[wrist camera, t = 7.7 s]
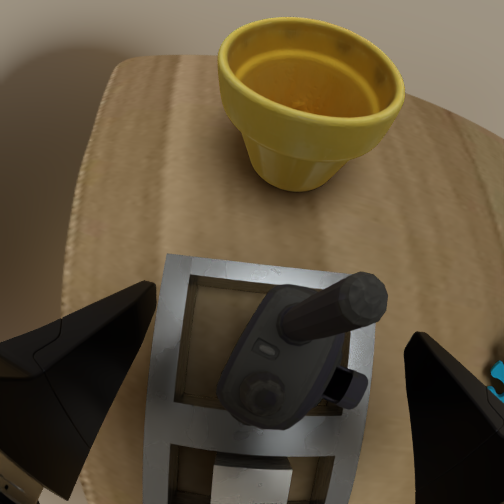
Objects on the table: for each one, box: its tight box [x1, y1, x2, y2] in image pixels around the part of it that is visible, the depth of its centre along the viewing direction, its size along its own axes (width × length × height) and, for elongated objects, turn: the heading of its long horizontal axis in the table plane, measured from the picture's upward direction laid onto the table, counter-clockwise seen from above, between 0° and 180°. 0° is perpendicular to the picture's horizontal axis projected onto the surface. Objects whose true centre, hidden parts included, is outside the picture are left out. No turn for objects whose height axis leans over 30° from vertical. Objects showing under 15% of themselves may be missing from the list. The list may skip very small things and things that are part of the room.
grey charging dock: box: [143, 254, 375, 504], centre depth 15 cm, size 16×12×3 cm
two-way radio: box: [216, 272, 388, 431], centre depth 10 cm, size 6×4×15 cm
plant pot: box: [218, 17, 405, 192], centre depth 17 cm, size 10×10×10 cm
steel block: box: [211, 451, 292, 504], centre depth 13 cm, size 4×4×4 cm
